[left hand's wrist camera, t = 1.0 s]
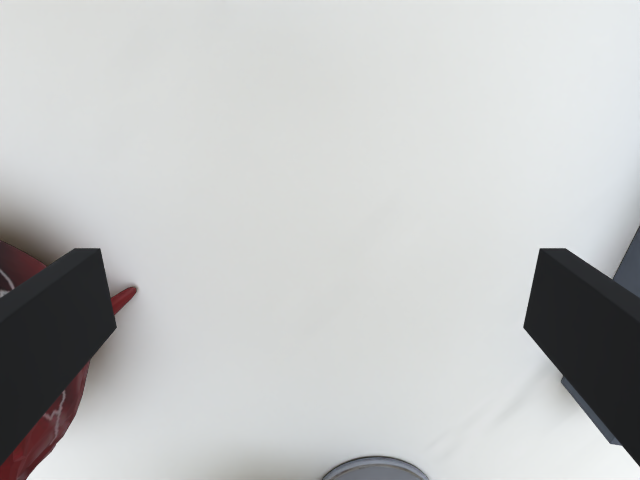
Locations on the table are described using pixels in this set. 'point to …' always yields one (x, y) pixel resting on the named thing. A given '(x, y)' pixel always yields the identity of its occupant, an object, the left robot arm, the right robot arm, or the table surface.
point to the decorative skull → (3, 276)
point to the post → (635, 276)
